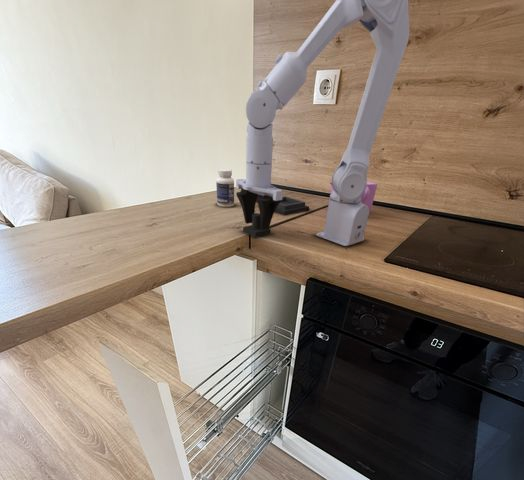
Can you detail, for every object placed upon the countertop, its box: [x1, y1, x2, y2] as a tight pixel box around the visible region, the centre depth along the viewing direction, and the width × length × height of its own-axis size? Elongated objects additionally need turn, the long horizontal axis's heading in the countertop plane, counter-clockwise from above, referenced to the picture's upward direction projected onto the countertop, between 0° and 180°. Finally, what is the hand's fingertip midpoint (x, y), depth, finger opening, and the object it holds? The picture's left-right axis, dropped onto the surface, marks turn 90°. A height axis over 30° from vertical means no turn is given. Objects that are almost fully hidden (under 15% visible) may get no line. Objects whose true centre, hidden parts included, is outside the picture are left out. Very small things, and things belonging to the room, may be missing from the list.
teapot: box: [328, 180, 378, 213], centre depth 93 cm, size 18×14×10 cm
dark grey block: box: [242, 212, 272, 238], centre depth 75 cm, size 5×5×4 cm
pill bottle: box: [215, 168, 235, 208], centre depth 93 cm, size 5×5×10 cm
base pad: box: [274, 195, 310, 216], centre depth 96 cm, size 11×11×2 cm
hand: (256, 225), depth 76 cm, fingers open, 5 cm apart
